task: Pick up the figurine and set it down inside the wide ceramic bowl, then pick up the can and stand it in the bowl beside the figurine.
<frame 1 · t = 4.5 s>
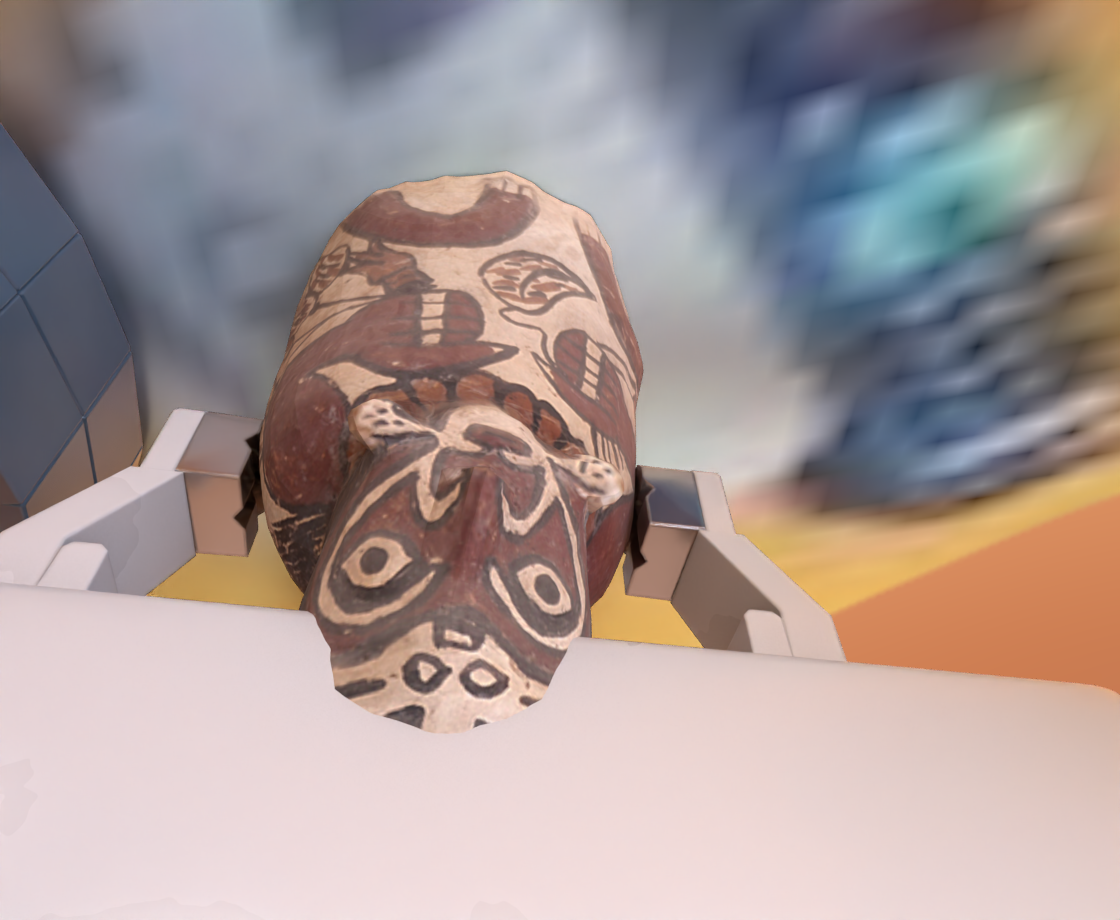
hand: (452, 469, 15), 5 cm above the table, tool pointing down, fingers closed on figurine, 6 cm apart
figurine: (475, 324, 18), on the table, touching gripper
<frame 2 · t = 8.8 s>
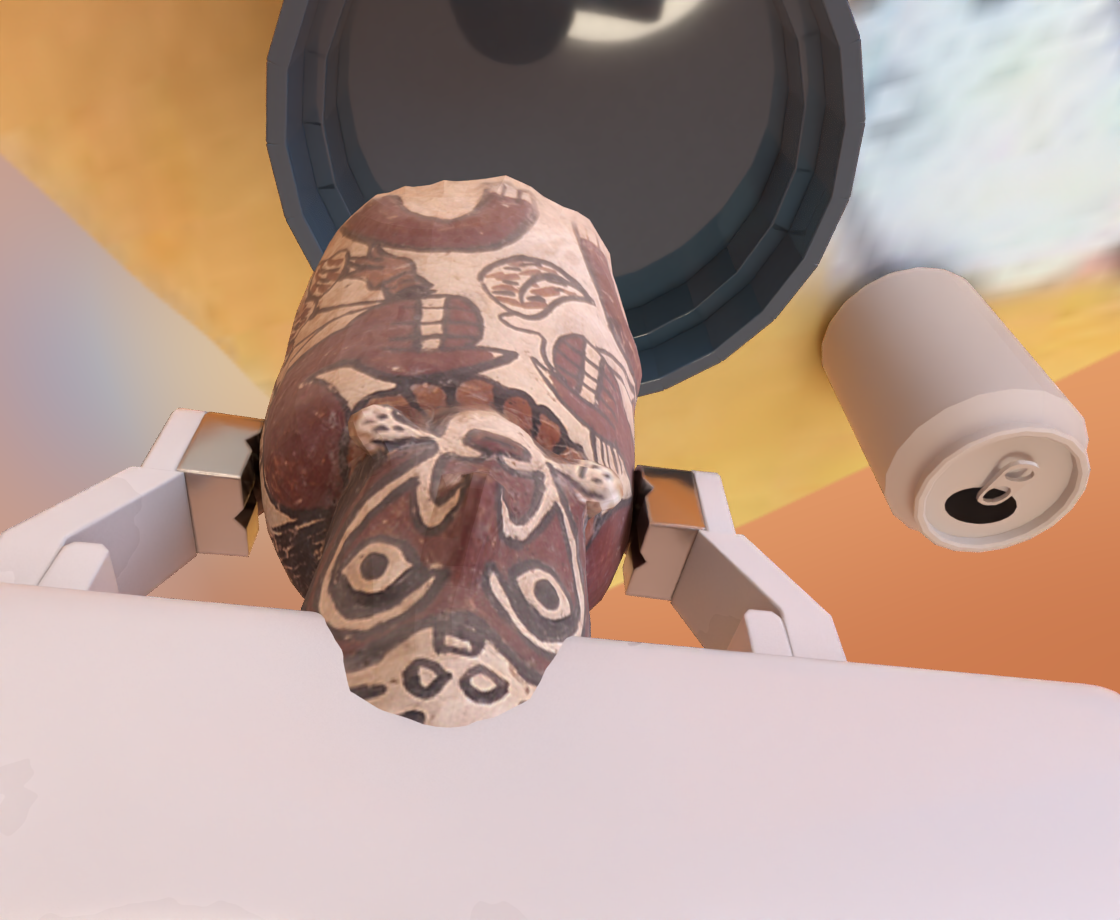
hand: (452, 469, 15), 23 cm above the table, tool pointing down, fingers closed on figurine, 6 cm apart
can: (893, 327, 40), on the table
figurine: (474, 328, 18), point 18 cm above the table, touching gripper
bowl: (562, 120, 33), on the table
when the fingers open (5 cm above the table, at t = 13.3 s): figurine stays where it is, resting on bowl.
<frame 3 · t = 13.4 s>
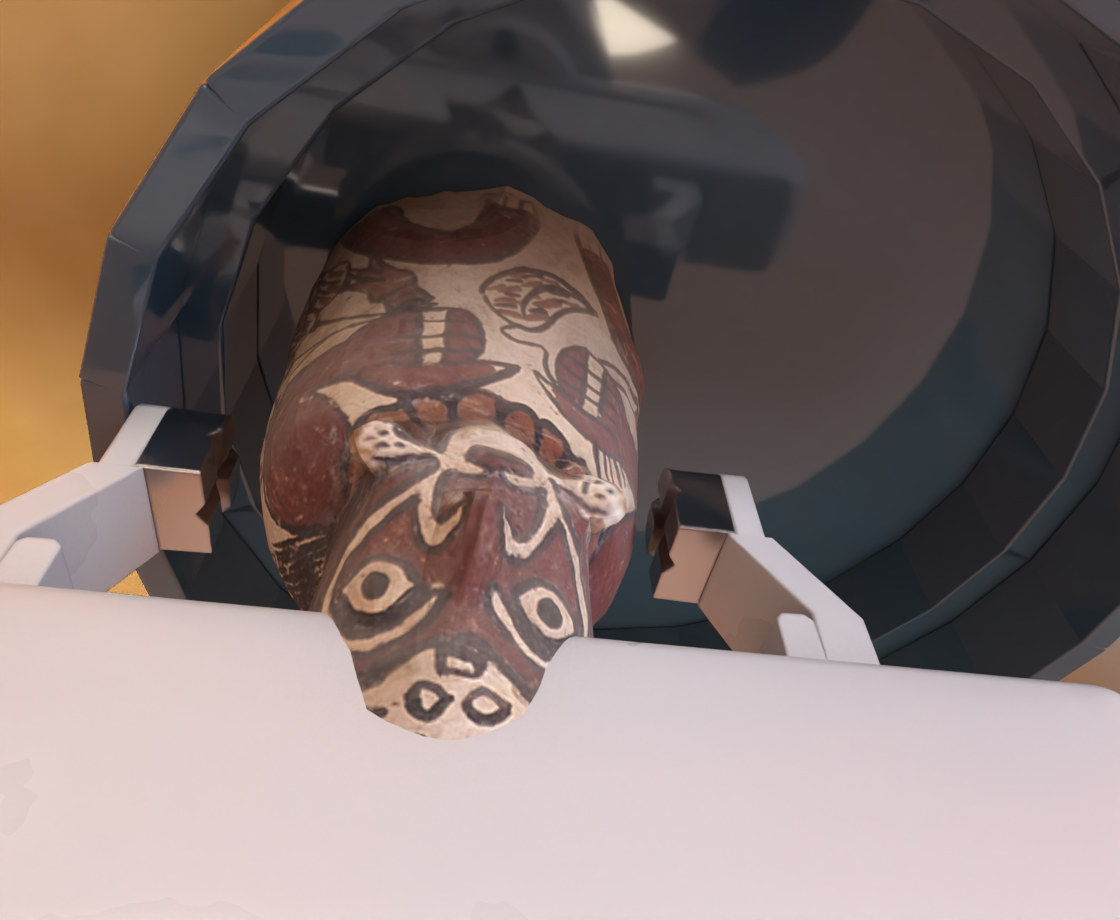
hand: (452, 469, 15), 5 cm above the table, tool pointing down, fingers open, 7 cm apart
figurine: (476, 338, 18), resting on bowl
bowl: (646, 371, 19), on the table
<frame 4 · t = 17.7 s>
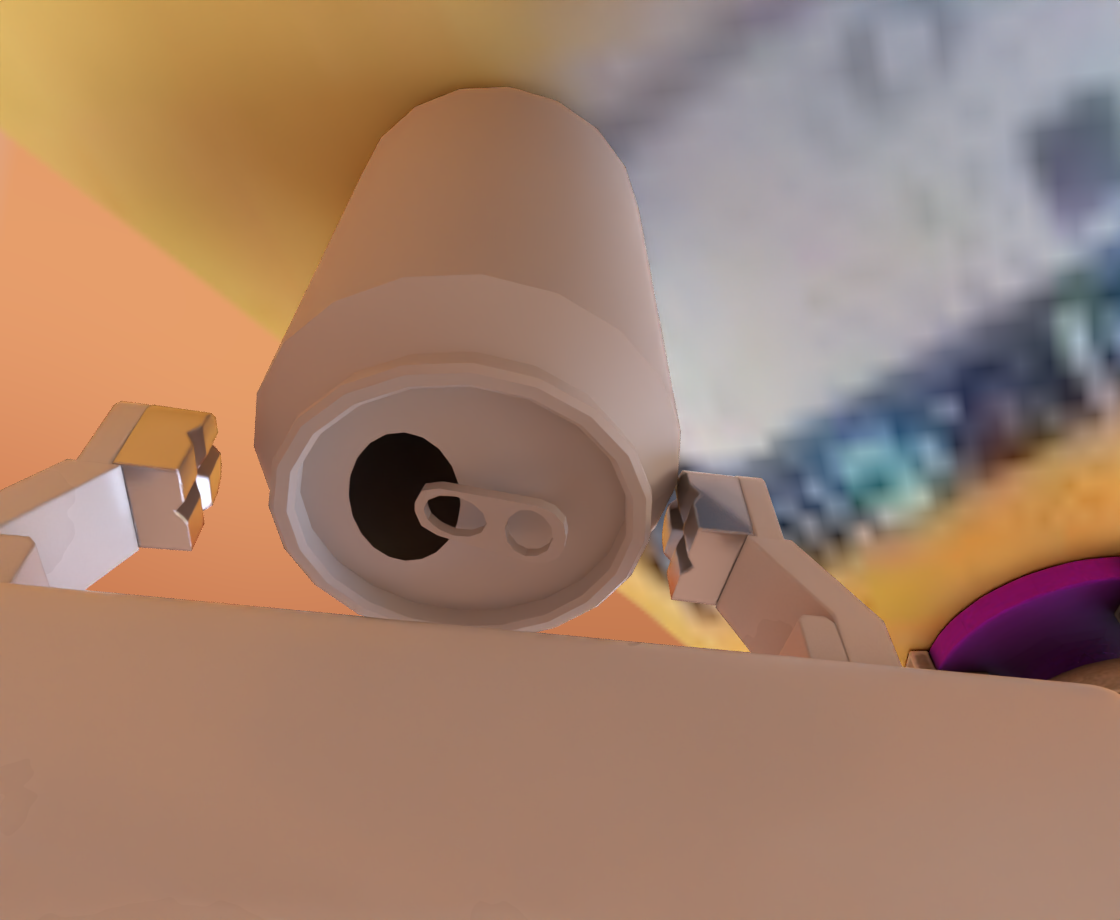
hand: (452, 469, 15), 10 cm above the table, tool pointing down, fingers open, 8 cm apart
webcam: (1062, 645, 35), on the table
can: (500, 218, 23), on the table, touching gripper
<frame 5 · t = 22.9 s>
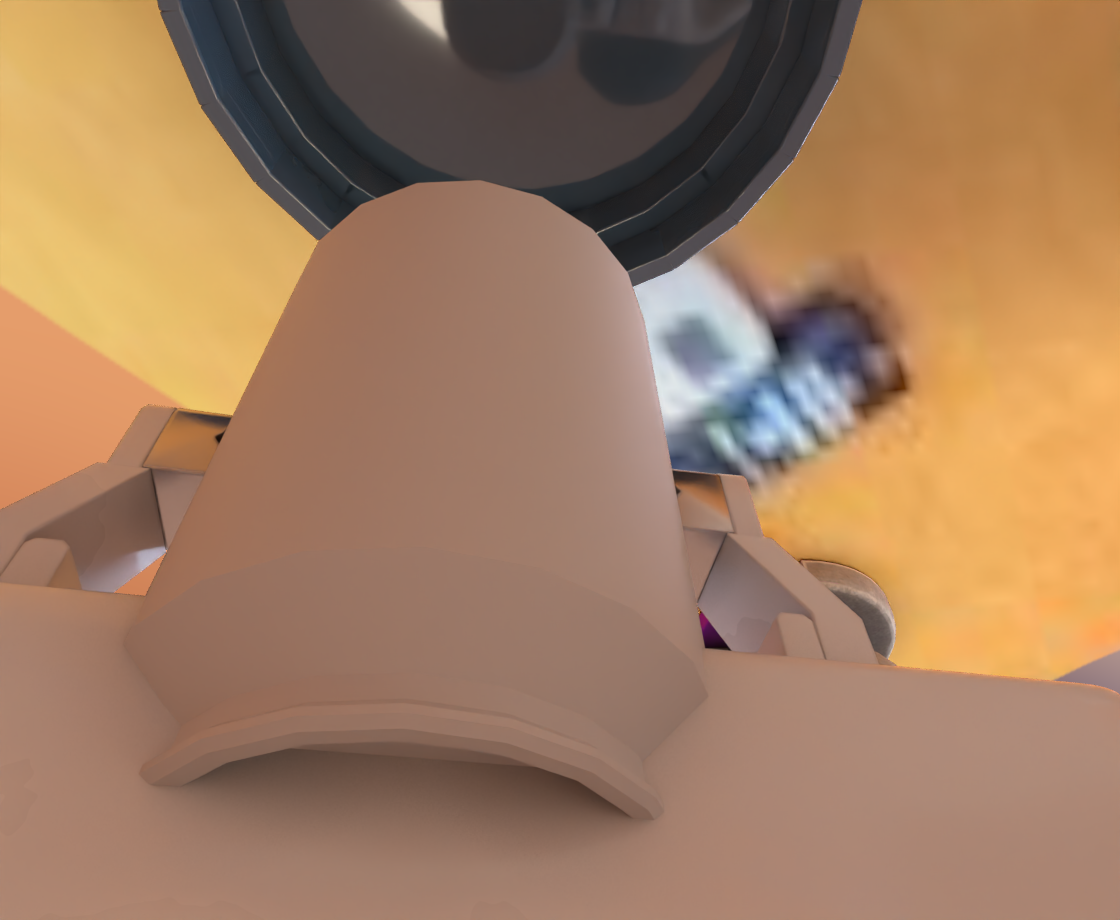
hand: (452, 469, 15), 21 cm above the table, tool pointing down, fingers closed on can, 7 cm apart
webcam: (783, 629, 52), on the table
can: (473, 325, 18), point 16 cm above the table, touching gripper
when the fingers open (5 cm above the table, at t = 27.0 s): can stays where it is, resting on bowl.
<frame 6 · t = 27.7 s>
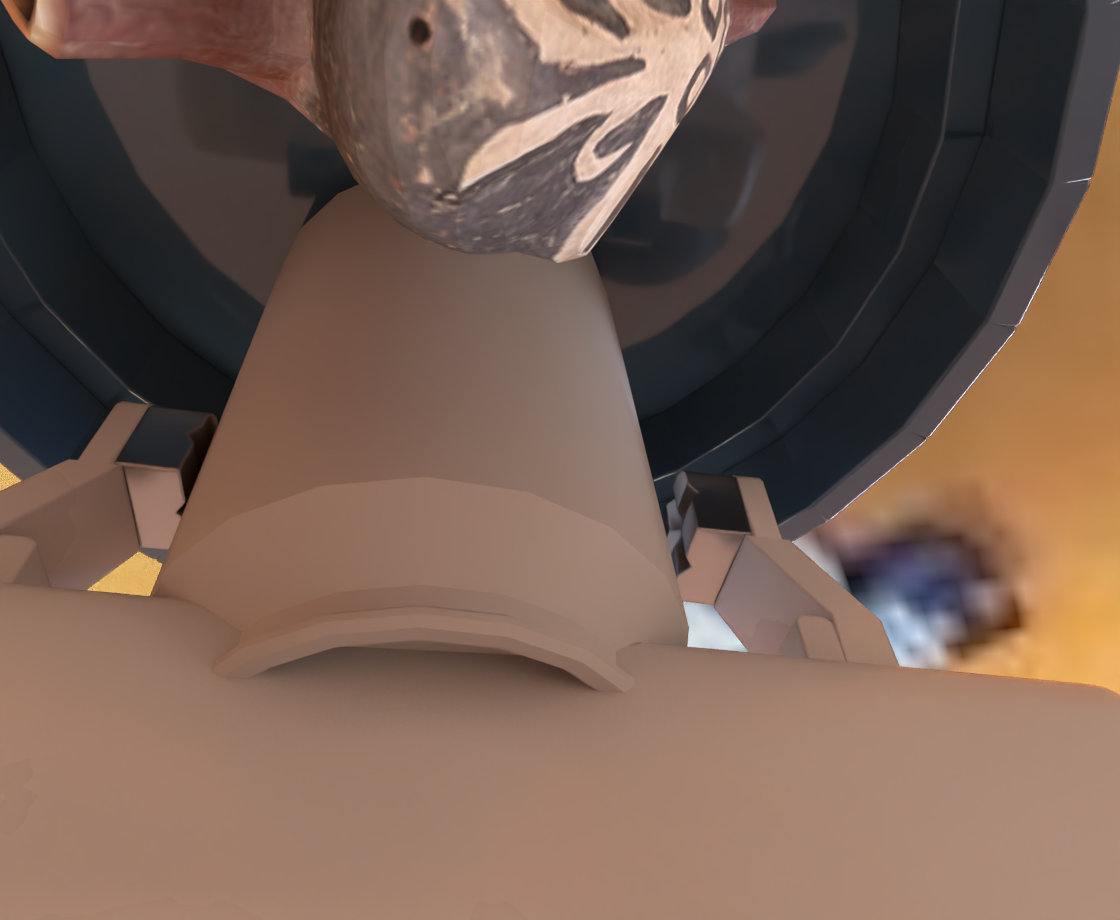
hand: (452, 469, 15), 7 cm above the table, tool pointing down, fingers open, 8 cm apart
can: (447, 306, 20), point 1 cm above the table, touching bowl, gripper
bowl: (465, 111, 17), on the table
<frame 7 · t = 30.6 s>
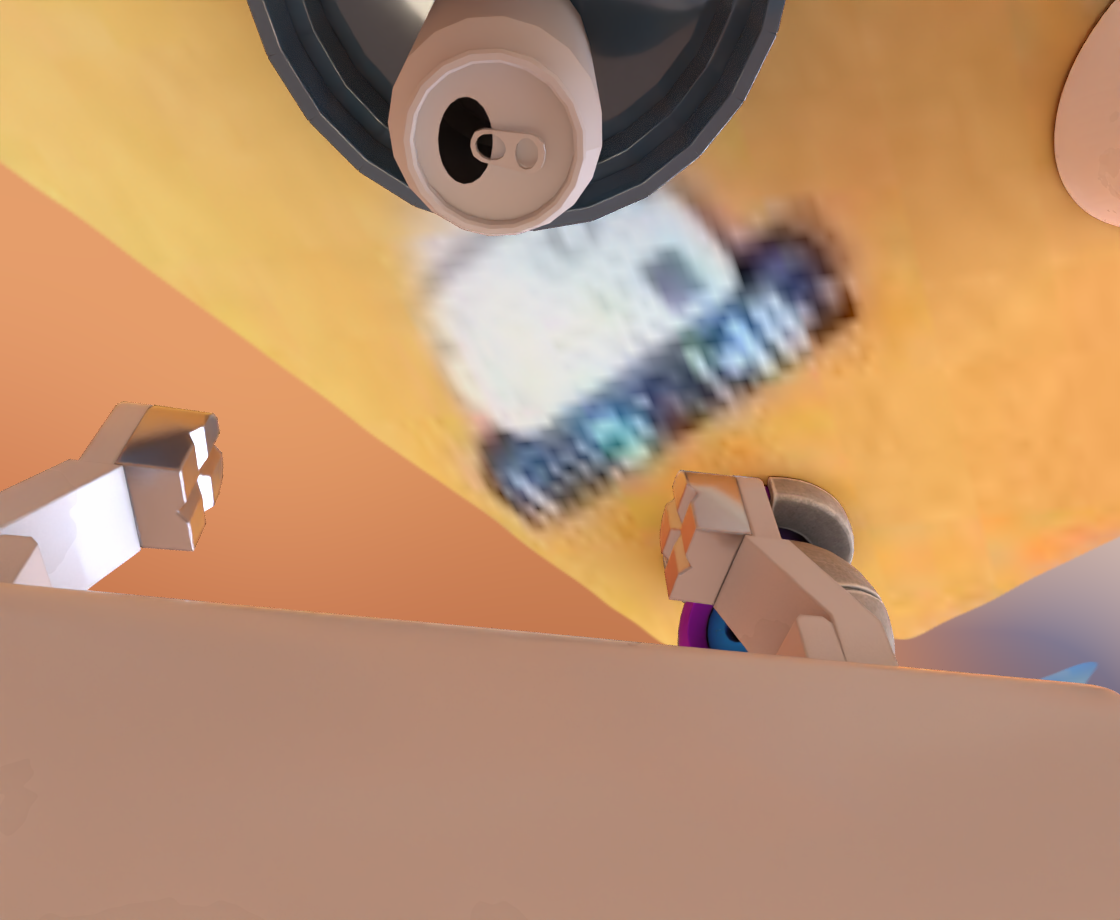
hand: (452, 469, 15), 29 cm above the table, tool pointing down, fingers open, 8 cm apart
webcam: (756, 545, 58), on the table
can: (506, 56, 37), resting on bowl
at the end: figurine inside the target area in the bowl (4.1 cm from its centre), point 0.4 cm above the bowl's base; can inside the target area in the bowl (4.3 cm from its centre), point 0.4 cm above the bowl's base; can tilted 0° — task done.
